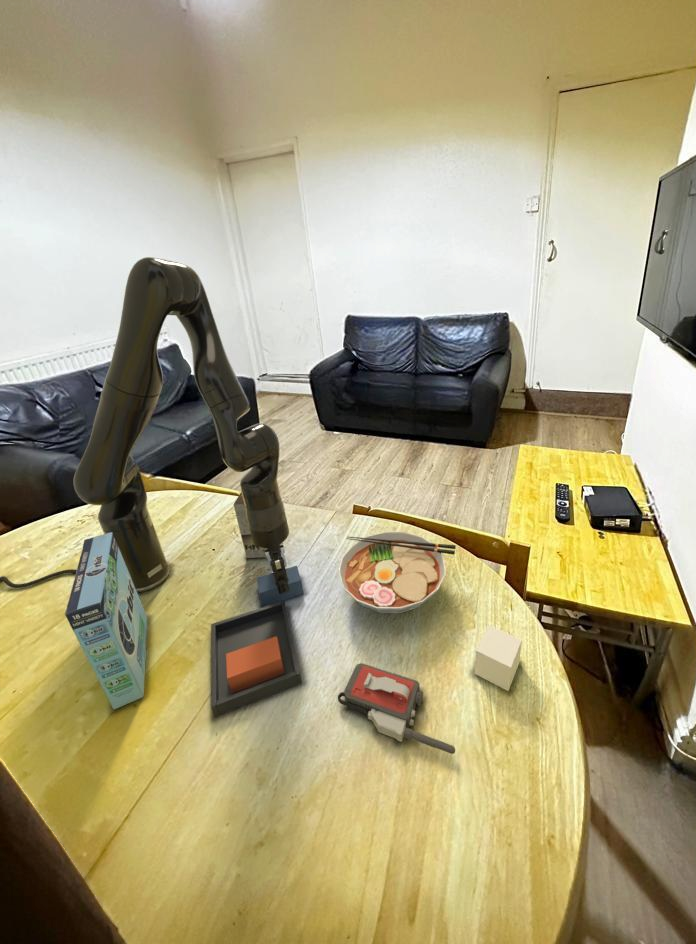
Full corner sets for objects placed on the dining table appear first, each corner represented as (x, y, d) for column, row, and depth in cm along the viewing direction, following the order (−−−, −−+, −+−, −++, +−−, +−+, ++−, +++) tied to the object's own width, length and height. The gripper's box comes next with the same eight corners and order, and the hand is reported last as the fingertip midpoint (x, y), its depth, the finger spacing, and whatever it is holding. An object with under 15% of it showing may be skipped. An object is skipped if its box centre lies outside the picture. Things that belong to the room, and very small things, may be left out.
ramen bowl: (320, 623, 84) (315, 593, 80) (356, 548, 104) (353, 522, 100) (443, 648, 77) (443, 616, 74) (456, 563, 97) (457, 535, 94)
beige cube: (519, 663, 74) (522, 639, 71) (508, 691, 69) (511, 667, 67) (486, 647, 77) (488, 624, 74) (474, 673, 72) (475, 650, 70)
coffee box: (271, 557, 102) (259, 503, 96) (245, 558, 103) (231, 504, 96) (280, 534, 111) (269, 482, 104) (256, 534, 111) (244, 483, 104)
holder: (214, 717, 68) (211, 707, 67) (214, 633, 83) (211, 623, 82) (302, 683, 73) (300, 673, 71) (286, 609, 88) (284, 600, 86)
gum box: (122, 626, 86) (82, 539, 76) (149, 616, 88) (114, 530, 78) (112, 711, 70) (60, 614, 60) (146, 697, 72) (100, 601, 62)
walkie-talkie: (331, 716, 67) (453, 764, 60) (328, 699, 65) (453, 746, 58) (354, 668, 74) (465, 706, 67) (352, 652, 73) (465, 688, 66)
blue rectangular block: (262, 607, 88) (258, 593, 87) (259, 590, 93) (256, 577, 91) (303, 593, 91) (301, 580, 90) (299, 578, 95) (296, 565, 94)
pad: (232, 693, 71) (227, 678, 69) (230, 668, 75) (226, 653, 74) (284, 673, 74) (280, 658, 72) (280, 650, 78) (276, 635, 76)
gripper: (245, 505, 89) (260, 563, 96) (251, 545, 77) (268, 608, 84) (280, 496, 91) (292, 553, 98) (291, 533, 79) (304, 595, 86)
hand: (281, 578), depth 91 cm, fingers open, 8 cm apart
